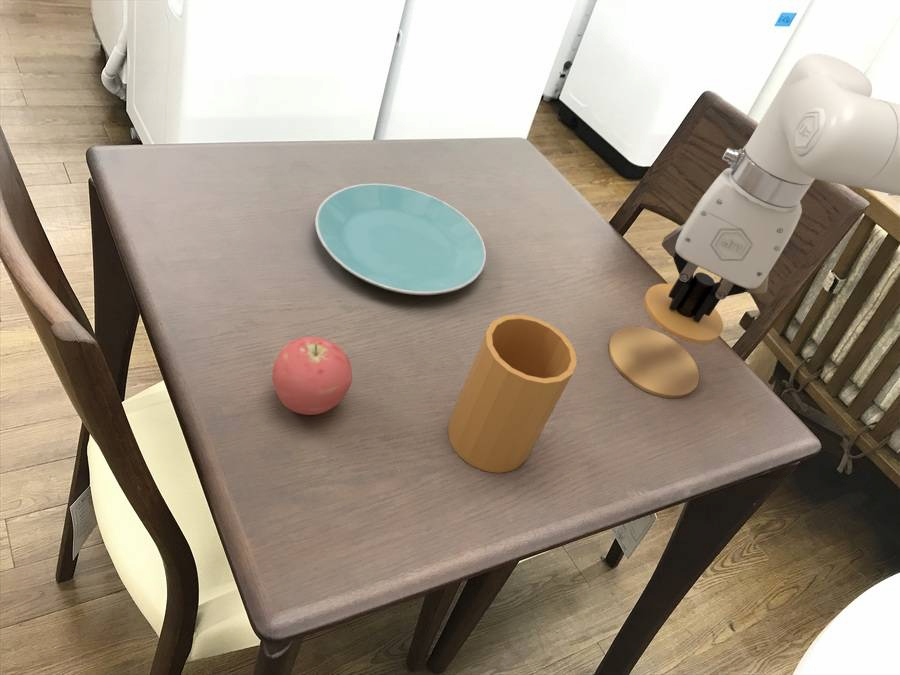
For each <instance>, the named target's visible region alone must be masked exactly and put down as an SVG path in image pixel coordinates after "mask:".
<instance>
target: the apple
mask: <svg viewBox="0 0 900 675" xmlns="http://www.w3.org/2000/svg"><path fill="white" fill-rule="evenodd" d="M271 374H272V376H271V378H272V384H273V387H274V389H275V392H276V395H277V396H278V398H279V400H280V402H281V403H282V404H283V405H284V407H286V408H287V409H289V410H290V411H293V412H294V413H297V414H300V415H307V416H315V415H320V414H323V413H326V412H327V411H329V410H332V408H334V407H335V406H337V405H338V404H339V403H340V402H341V401H342V400H343V398H345V396H346V395H347V394H348V391H349V390H350V387H351V385H352V382H353V368H352V365H351V362H350V360H349V357H348V355H347V354H346V353H345V351H344V349H342V348H341V347H340V346H338V345H337V344H336V343H334V342H333V341H331V340H329V339H326V338H322V337H319V336H302V337H298V338H296V339H293V340H292V341H290V342H288V343H286V344H285V346H283V348H282V349H281V350H280V351H279V352H278V354H277V356H276V358H275V360H274V363H273V366H272V373H271Z"/></svg>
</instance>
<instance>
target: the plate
mask: <svg viewBox="0 0 900 675" xmlns="http://www.w3.org/2000/svg"><path fill="white" fill-rule="evenodd" d="M314 226H315V231H316V234H317V237H318V239H319V241H320V243H321V245H322V247H323V248H324V250H325V251H326V252H327V253H328V255H330V257H331V258H332V259H333V260H334V261H335V262H336V263H337V264H339V266H341V267H342V268H343V269H344V270H346V271H347V272H349V273H350V274H352V275H353V276H355V277H357V278H359V279H361V280H362V281H364V282H366V283H368V284H370V285H373V286H375V287H378V288H381V289H384V290H387V291H391V292H395V293H400V294H405V295H414V296H415V295H416V296H433V295H443V294H448V293H452V292H455V291H459V290H461V289H463V288H465V287H467V286H468V285H470V284H472V283H473V282H474V281H475V280H476V279H477V278H478V277H479V276H480V275H481V274H482V271H483V270H484V268H485V265H486V262H487V250H486V246H485V243H484V240H483V237H482V235H481V234H480V232H479V231H478V229H477V227H476V226H475V225H474V224H473V223H472V221H470V220H469V218H467V216H466V215H464V214H463V213H462V212H460V211H459V210H458V209H456V208H455V207H454V206H452V205H450V204H448V203H447V202H445V201H443V200H441V199H440V198H437V197H435V196H433V195H430V194H428V193H425V192H422V191H421V190H415V189H413V188H410V187H405V186H401V185H396V184H389V183H373V182H372V183H361V184H354V185H350V186H347V187H344V188H341V189H339V190H337V191H335V192H332V193H331V194H330V195H328V196H327V197H326V198H325V199H324V200H323V201H322V202H321V204H320V205H319V206H318V208H317V211H316V212H315V217H314Z"/></svg>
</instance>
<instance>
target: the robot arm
mask: <svg viewBox="0 0 900 675" xmlns="http://www.w3.org/2000/svg"><path fill="white" fill-rule="evenodd" d="M872 93H873V85H872V82H871V80H870V79H869V77H868V76H867V75H866V74H865V73H863V71H861V70H860V69H858V68H857V67H856V66H854V65H852V64H851V63H848V62H846V61H844V60H842V59H839V58H837V57H835V56H830V55H828V54H823V53H809V54H806V55H804V56H802V57H800V58H799V59H798V60H797V61H796V62H795V64H794V65H793V66H792V68H791V69H790V71H789V73H788V74H787V75H786V78H785V80H784V81H783V82H782V84H781V86H780V88H779V89H778V91H777V93H776V94H775V96H774V98H773V99H772V101H771V103H770V104H769V106H768V108H767V110H766V111H765V113H764V114H763V116H762V117H761V120H760V121H759V123H758V124H757V126H756V128H755V130H754V131H753V133H752V135H751V136H750V138H749V140H748V141H747V143H746V144H745V145H744V146H743V148H739V149H733V148H731V147H727V149H726V150H725V152H724V154H723V156H722V158H721V160H722V161H724V162H726V163H727V164H728V165H730V166H729V167H727V168H725V169H724V170H722V171H721V173H720V174H719V175H718V176H717V177H716V179H715V180H714V181H713V182H712V184H711V185H710V186H709V187H708V189H707V190H706V191H705V192H704V194H703V195H702V197H701V198H700V200H699V201H698V202H697V204H696V205H695V207H694V208H693V210H692V211H691V213H690V214H689V216H688V217H687V219H686V221H685V222H684V223H683V224H682V225H680V226H679V227H677V228H676V229H674V230H673V231H671V232H670V233H668V234H667V235H665V236H664V237H663V239H662V243H661V247H662V248H663V249H664V250H665V251H666V252H667V254H668V255H669V256H670V257H671V258H673V263H674V264H675V267H676V270H677V272H678V278H677V279H676V281H675V283H674V284H673V285H674V286H673V288H672V289H671V291H670V293H669V296H668V297H670V298H672V302H671V304H670V307H669V309H671V310H676V308H677V307H678V305H679V304H680V302H681V300H682V299H683V297H684V296H685V294H686V292H687V291H688V289H689V288H690V285H691V281H692V279H693V277H694V276H695V272H696V271H697V269H698V267H699V268H701V269H702V270H704V271H706V272H709V273H711V274H713V275H715V276H717V277H719V278H720V279H719V281H717V282H715V284H714V286H713V287H712V289H711V290H710V292H709V293H708V295H707V296H706V298H705V299H704V301H703V302H702V304H701V306H700V307H699V309H698V310H697V312H696V313H695V315H694V318H693V319H694V321H696V322H698V323H699V321H700V320H701V318H702V317H703V315H704V314H705V315H707V316H709V315H710V314H711V313H712V311H713V310H714V308H715V309H716V307H717V305H718V304H719V302H720V301H722V300H725V299H726V298H727V297H731V296H736V295H740V294H741V295H742V294H744V293H747V294H754V295H765V294H766V293H767V291H768V286H769V277H770V272H771V270H772V269H773V267H774V266H775V265H776V262H777V261H778V260H779V258H780V256H781V254H782V253H783V251H784V249H785V248H786V246H787V244H788V243H789V240H790V239H791V237H792V235H793V233H794V231H795V229H796V227H797V226H798V223H799V221H800V218H801V216H802V214H803V209H802V204H801V200H802V199H803V198H804V196H805V194H806V193H807V191H808V190H810V187H811V186H812V185H813V183H814V181H815V180H818V181H823V182H828V183H832V184H837V185H843V186H848V187H854V188H860V189H865V190H869V191H874V192H879V193H884V194H887V195H892V196H898V197H900V104H899V103H895V102H891V101H886V100H882V99H877V98H874V97H871V96H872Z"/></svg>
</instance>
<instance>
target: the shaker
mask: <svg viewBox="0 0 900 675" xmlns="http://www.w3.org/2000/svg"><path fill="white" fill-rule="evenodd" d="M577 365H578V359H577V354H576V350H575V348H574V346H573V344H572V343H571V342H570V341H569V339H568V337H567V336H566V335H565V334H564V333H563V332H561V331H560V330H559V329H557V328H556V327H555V326H554V325H552V324H550V323H548V322H545V321H544V320H543V319H540V318H538V317H535V316H534V317H533V316H529V315H524V314H509V315H502V316H501V317H499V318H497V319H495V320H493V321H492V322H491V323H490V325H489V326H488V328H487V330H486V331H485V334H484V336H483V338H482V341H481V343H480V346H479V348H478V351H477V353H476V354H475V358H474V360H473V363H472V365H471V367H470V370H469V372H468V374H467V377H466V379H465V382H464V383H463V387H462V389H461V391H460V394H459V396H458V399H457V401H456V403H455V406H454V408H453V411H452V413H451V416H450V418H449V421H448V425H447V436H448V440H449V443H450V445H451V446H452V448H453V450H454V451H455V453H456V454H457V455H458V456H459V457H460V458H461V459H462V460H463V461H465V462H466V463H468V464H469V465H470V466H472V467H474V468H476V469H479V470H481V471H485V472H487V473H496V474H497V473H498V474H499V473H508V472H511V471H513V470H516V469H517V468H519V467H520V466H522V465H523V464H524V463H525V461H526V460H527V458H528V457H529V456H530V453H531V452H532V450H533V448H534V446H535V444H536V442H537V440H538V438H539V437H540V435H541V433H542V431H543V429H544V428H545V426H546V424H547V423H548V420H549V419H550V416H551V414H552V413H553V411H554V409H555V407H556V405H557V404H558V402H559V400H560V398H561V397H562V395H563V393H564V391H565V390H566V387H567V385H568V383H569V382H570V380H571V378H572V376H573V375H574V373H575V370H576V367H577Z"/></svg>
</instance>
